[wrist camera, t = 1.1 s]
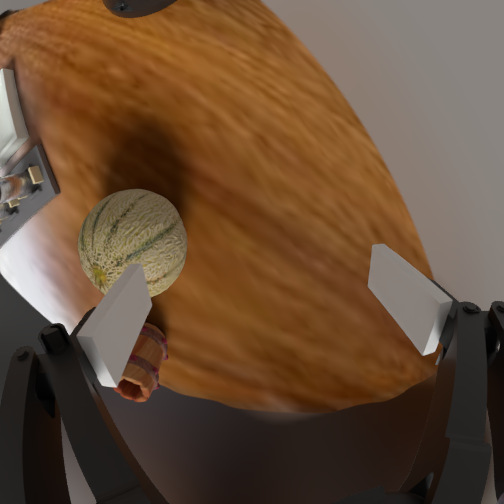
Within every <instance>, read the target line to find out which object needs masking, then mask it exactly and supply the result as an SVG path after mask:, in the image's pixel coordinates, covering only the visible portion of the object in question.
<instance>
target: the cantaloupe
mask: <svg viewBox="0 0 504 504" xmlns="http://www.w3.org/2000/svg"><path fill="white" fill-rule="evenodd" d="M186 250H187V233H186V230H185V228H184V226H183V222H182V220H181V218H180V216H179V213H178V212H177V210H176V208H175V207H174V206H173V204H172V203H170V202H169V200H168V199H166V198H165V197H163V196H161V195H158V194H156V193H154V192H151V191H148V190H143V189H129V190H124V191H118V192H116V193H113V194H111V195H109V196H107V197H105V198H104V199H103V200H101V201H100V202H99V203H98V204H97V205H96V206H95V207H94V208H93V209H92V211H91V212H90V213H89V214H88V216H87V217H86V218H85V220H84V222H83V224H82V227H81V230H80V233H79V238H78V251H79V256H80V261H81V265H82V268H83V270H84V272H85V273H86V275H87V276H88V278H89V279H90V281H91V282H92V283H93V285H94V286H95V287H96V288H97V289H99V290H100V291H101V292H102V293H103V294H105V295H106V294H107V292H108V291H109V290H110V289H111V287H112V286H113V285H114V283H115V282H116V281H117V279H118V278H119V277H120V276H121V274H122V273H123V272H124V271H125V269H126V268H127V267H128V266H129V264H137V263H142V266H143V271H144V275H145V279H146V283H147V287H148V291H149V295H150V298H151V297H153V296H156V295H157V294H160V293H162V292H163V291H164V290H167V289H168V287H169V286H170V285H171V284H172V283H173V282H174V281H175V280H176V279H177V277H178V276H179V274H180V272H181V270H182V268H183V266H184V263H185V259H186Z"/></svg>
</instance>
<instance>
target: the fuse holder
mask: <svg viewBox="0 0 504 504" xmlns="http://www.w3.org/2000/svg"><path fill="white" fill-rule="evenodd" d="M25 171H29V173H30V176H31V179H32V181H33V184H37V183H39V187H38V189H37V191H36V192H34V193H31V194H28V195H25V196H22V197H19V198H16V199H14V200H11V201H8V203H9V205H10V208H12V207H14V206H16V210H15V212H14V213H13V214H11V215H9V216H7V217H4V218H2V219H0V249H1V247H2V246H3V245H4V244H5V243H6V242H7V241H8V240H9V239H10V238H11V237H12V236H13V235H14V234H15V233H16V232H17V231H18V230H19V229H20V228H21V227H22V226H23V225H24V224H25V223H26V222H28V221H29V220H30V219H31V218H32V217H33V216H34V215H35V214H36V213H37V212H39V211H40V210H41V209H42V208H43V207H44V206H45V205H47V204H48V203H49V202H50V201H51V200H53V199H54V198H55V197H56V196H57V195H59V194H60V191H59V188H58V186H57V184H56V181H55V179H54V177H53V174H52V172H51V169H50V167H49V164H48V161H47V159H46V156H45V153H44V150H43V148H42V145H36V146H35V147H34V148H33V149H32V150H31V151H30V152H29V153H28V154H27V155H26V156H25V157H24V158H23V159H22V160H21V161H20V162H19V163H18V164H17V165H16V166H15V167H14V169H13V170H12V171H11V172H10V173H9V174H8V175H12V174H17V173H21V172H25ZM8 175H7V176H8Z"/></svg>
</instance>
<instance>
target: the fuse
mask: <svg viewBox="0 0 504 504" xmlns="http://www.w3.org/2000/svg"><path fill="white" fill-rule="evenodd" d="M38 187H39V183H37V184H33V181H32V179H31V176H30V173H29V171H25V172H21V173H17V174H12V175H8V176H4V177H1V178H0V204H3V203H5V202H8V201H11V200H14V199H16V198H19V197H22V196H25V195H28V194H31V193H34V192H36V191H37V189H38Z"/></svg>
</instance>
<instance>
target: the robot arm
mask: <svg viewBox="0 0 504 504" xmlns="http://www.w3.org/2000/svg"><path fill="white" fill-rule="evenodd" d="M175 1H176V0H103V3H104V5H105V6H106V8H107V9H108V10H109V11H111V12H112V13H113V14H114V15H117V16H119V17H124V18H135V17H142V16H146V15H149V14H152V13H155V12H157V11H160V10H162V9H164V8H166V7H167V6H169V5H171V4H172V3H174V2H175ZM368 288H369V289H370V290H371V291H372V292H373V293H374V295H375V296H376V297H377V298H378V300H379V301H380V302H381V303H382V304H383V306H384V307H385V308H386V309H387V311H388V312H389V313H390V314H391V316H392V317H393V318H394V319H395V321H396V322H397V323H398V324H399V326H400V327H401V328H402V329H403V331H404V332H405V333H406V335H407V336H408V337H409V339H410V340H411V341H412V342H413V344H414V345H415V346H416V348H417V349H418V350H419V352H420V353H421V354H422V356H423V355H426V354H429V353H432V352H435V350H436V347H437V345H438V342H439V341H440V343H441V344H442V345H443V348H442V350H441V352H440V355H439V357H438V359H437V362H436V364H435V365H437V364H438V362H439V366H438V372H437V378H436V384H435V389H434V393H433V398H432V403H431V407H430V411H429V415H428V419H427V422H426V426H425V429H424V433H423V436H422V439H421V443H420V446H419V449H418V452H417V454H416V457H415V460H414V463H413V466H412V468H411V471H410V473H409V475H408V477H407V478H406V480H405V481H404V483H403V484H402V486H401V487H400V489H399V491H384V488H383V486H379V487H376V488H373V489H370V490H367V491H363V492H360V493H357V494H353V495H350V496H347V497H345V498H343V499H341V500H339V501H337V502H335V503H332V504H481V500H482V496H483V493H484V488H485V484H486V480H487V475H488V470H489V464H490V458H491V446H490V444H486V443H484V432H485V423H486V410H488V415H489V421H490V429H491V437H492V446H493V461H494V481H495V490H496V498H497V504H504V302H502V301H495V302H493V303H492V305H491V308H490V310H489V311H481V309H480V308H479V307H478V306H477V305H475V304H474V303H471V302H458V301H457V300H456V299H455V298H454V297H453V296H452V295H450V294H449V293H448V292H447V291H445V289H443V288H442V287H441V286H440V285H439V284H438V283H436V282H435V281H433V280H431V279H429V278H427V277H425V276H424V275H423V274H422V273H420V272H419V271H418V270H417V269H415V268H414V267H413V266H412V265H410V264H409V263H408V262H407V261H405V260H404V259H403V258H402V257H400V256H399V255H398V254H396V253H395V252H394V251H393V250H391V249H390V248H389V247H387V246H386V245H385V244H374V245H372V255H371V264H370V273H369V281H368ZM151 307H152V302H151V298H150V295H149V291H148V287H147V283H146V279H145V275H144V271H143V266H142V263H137V264H129V266H128V267H127V268H126V269H125V271H124V272H123V273H122V274H121V276H120V277H119V278H118V279H117V281H116V282H115V283H114V285H113V286H112V287H111V289H110V290H109V291H108V292H107V294H106V295H105V296H104V298H103V299H102V300H101V302H100V303H99V304H98V306H97V307H93V308H92V309H91V310H89V311H88V312H87V313H86V314H85V315H84V317H83V318H82V320H81V321H80V322H79V323H78V325H77V326H76V328H75V329H74V330H73V332H72V333H71V335H70V336H69V335H68V333H67V331H66V329H65V327H64V325H63V324H60V323H55V324H51V325H49V326H47V327H45V328H44V329H43V330H42V331H41V332H40V333H39V335H38V339H39V341H40V343H41V345H42V347H43V349H44V351H45V352H46V354H39V355H36V353H35V351H34V349H33V348H32V347H30V346H24V347H20V348H19V349H17V350H16V352H15V353H14V354H13V356H12V358H11V361H10V365H9V369H8V372H7V376H6V381H5V385H4V390H3V394H2V399H1V405H0V504H71V501H70V496H69V491H68V485H67V479H66V473H65V466H64V458H63V448H62V436H61V417H62V420H63V423H64V426H65V429H66V432H67V435H68V438H69V441H70V443H71V446H72V449H73V451H74V453H75V456H76V459H77V461H78V463H79V466H80V468H81V470H82V472H83V475H84V477H85V479H86V481H87V483H88V485H89V487H90V489H91V491H92V493H93V495H94V497H95V499H96V502H97V503H96V504H169V503H168V501H167V500H166V499H165V498H164V496H163V495H162V494H161V493H160V492H159V490H158V489H157V488H156V486H155V485H154V484H153V482H152V481H151V480H150V478H149V477H148V475H147V474H146V473H145V471H144V470H143V468H142V467H141V465H140V464H139V463H138V461H137V459H136V458H135V456H134V455H133V454H132V452H131V450H130V449H129V447H128V445H127V444H126V442H125V440H124V439H123V437H122V435H121V434H120V432H119V430H118V428H117V427H116V425H115V423H114V421H113V419H112V417H111V416H110V414H109V412H108V410H107V408H106V406H105V404H104V402H103V400H102V398H101V396H100V394H99V392H98V389H97V387H96V386H95V384H94V381H95V379H96V377H97V378H98V379H99V381H100V383H101V384H102V386H108V387H117V386H118V384H119V381H120V379H121V376H122V374H123V371H124V369H125V366H126V364H127V361H128V359H129V357H130V354H131V352H132V350H133V347H134V345H135V343H136V340H137V338H138V336H139V333H140V331H141V329H142V327H143V324H144V322H145V320H146V318H147V316H148V313H149V311H150V309H151ZM499 343H500V348H499V351H498V348H497V347H498V345H499Z"/></svg>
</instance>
